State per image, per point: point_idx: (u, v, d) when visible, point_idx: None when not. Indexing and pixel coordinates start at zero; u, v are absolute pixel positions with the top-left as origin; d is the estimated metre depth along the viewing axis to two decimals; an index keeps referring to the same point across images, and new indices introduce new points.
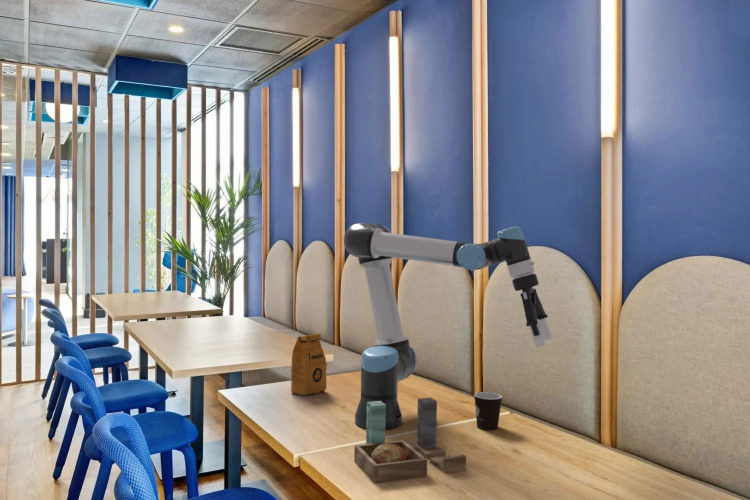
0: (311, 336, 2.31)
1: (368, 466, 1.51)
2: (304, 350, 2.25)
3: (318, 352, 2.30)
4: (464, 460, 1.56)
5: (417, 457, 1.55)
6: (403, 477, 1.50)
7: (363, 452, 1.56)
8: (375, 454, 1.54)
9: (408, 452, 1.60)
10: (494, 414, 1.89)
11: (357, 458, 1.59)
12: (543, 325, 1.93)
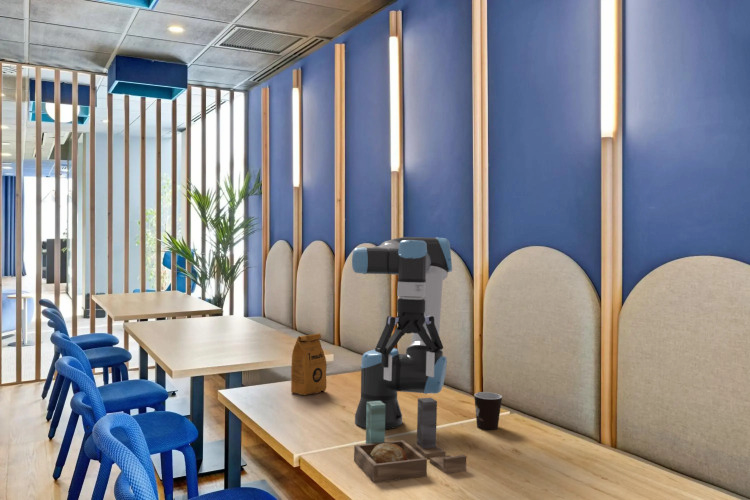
0: (311, 336, 2.31)
1: (368, 465, 1.51)
2: (304, 350, 2.25)
3: (318, 352, 2.30)
4: (464, 460, 1.56)
5: (417, 457, 1.55)
6: (403, 477, 1.50)
7: (363, 452, 1.56)
8: (378, 455, 1.54)
9: (408, 452, 1.61)
10: (494, 414, 1.89)
11: (357, 458, 1.59)
12: (429, 359, 1.66)
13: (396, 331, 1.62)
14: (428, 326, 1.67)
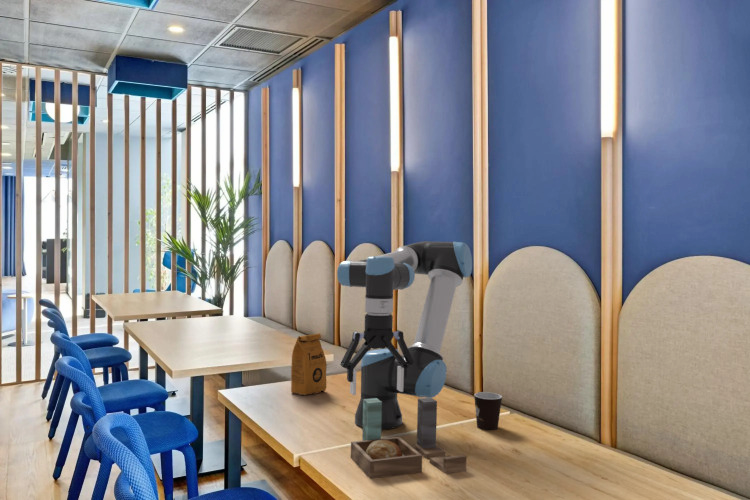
0: (311, 336, 2.31)
1: (364, 461, 1.54)
2: (304, 350, 2.25)
3: (318, 352, 2.30)
4: (464, 460, 1.56)
5: (412, 453, 1.58)
6: (398, 472, 1.53)
7: (359, 448, 1.59)
8: (372, 452, 1.56)
9: (403, 448, 1.63)
10: (494, 414, 1.89)
11: (353, 454, 1.62)
12: (399, 374, 1.67)
13: (363, 346, 1.64)
14: (398, 341, 1.68)
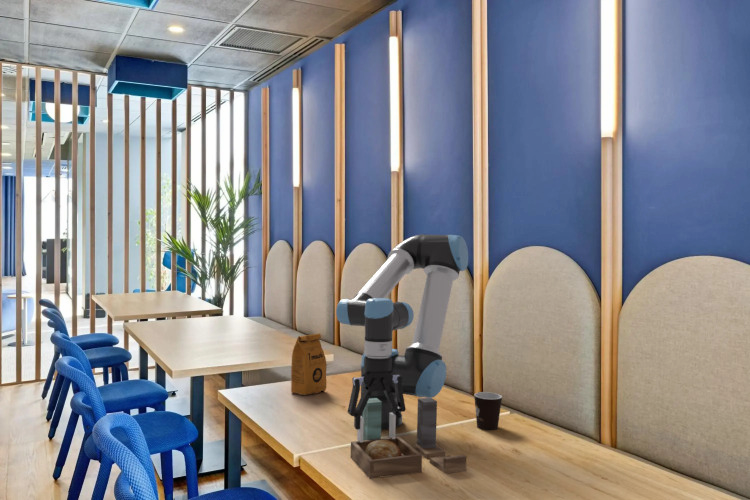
0: (311, 336, 2.31)
1: (364, 461, 1.54)
2: (304, 350, 2.25)
3: (318, 352, 2.30)
4: (464, 460, 1.56)
5: (412, 453, 1.58)
6: (398, 472, 1.53)
7: (359, 448, 1.59)
8: (375, 453, 1.56)
9: (403, 448, 1.63)
10: (494, 414, 1.89)
11: (353, 454, 1.62)
12: (391, 421, 1.67)
13: (364, 391, 1.65)
14: (395, 385, 1.68)
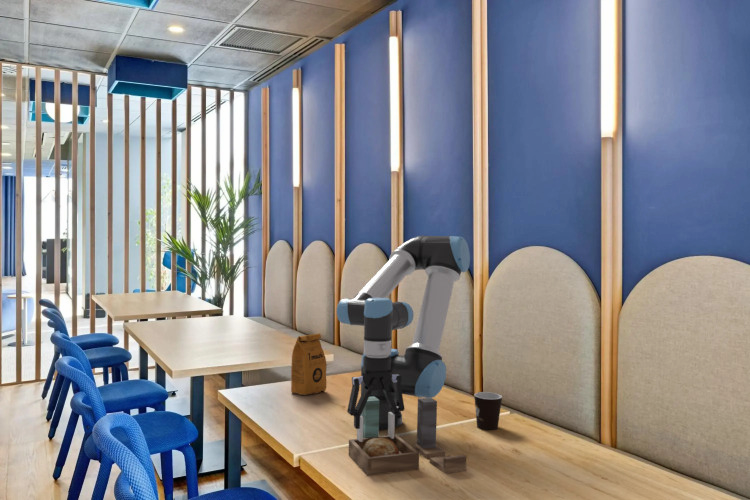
0: (311, 336, 2.31)
1: (362, 459, 1.55)
2: (304, 350, 2.25)
3: (318, 352, 2.30)
4: (464, 460, 1.56)
5: (409, 451, 1.60)
6: (395, 470, 1.54)
7: (357, 446, 1.61)
8: (371, 450, 1.57)
9: (401, 446, 1.65)
10: (494, 414, 1.89)
11: (351, 452, 1.63)
12: (390, 420, 1.67)
13: (364, 390, 1.65)
14: (394, 385, 1.68)
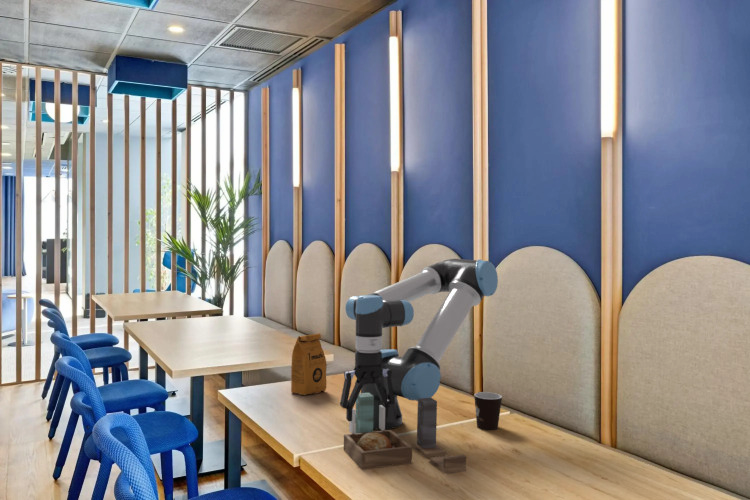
0: (311, 336, 2.31)
1: (356, 453, 1.60)
2: (304, 350, 2.25)
3: (318, 352, 2.30)
4: (464, 460, 1.56)
5: (403, 445, 1.64)
6: (389, 463, 1.59)
7: (352, 440, 1.65)
8: (363, 443, 1.62)
9: (395, 441, 1.69)
10: (494, 414, 1.89)
11: (346, 446, 1.68)
12: (381, 413, 1.74)
13: (356, 384, 1.72)
14: (385, 379, 1.75)
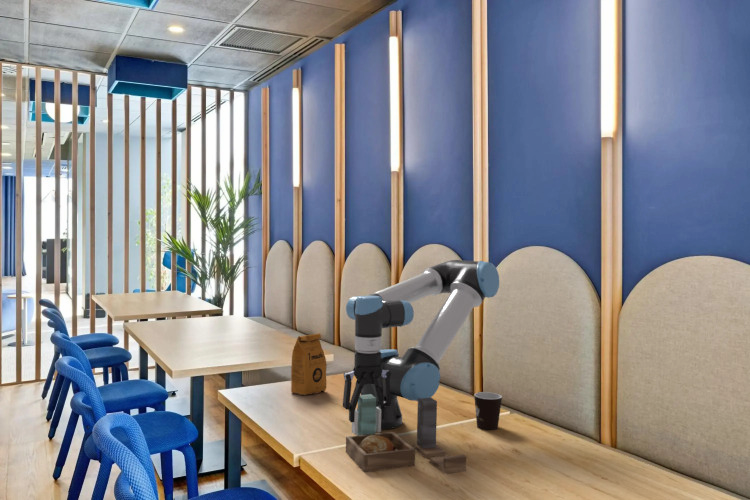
0: (311, 336, 2.31)
1: (359, 455, 1.58)
2: (304, 350, 2.25)
3: (318, 352, 2.30)
4: (464, 460, 1.56)
5: (405, 447, 1.62)
6: (392, 466, 1.57)
7: (354, 443, 1.63)
8: (363, 446, 1.61)
9: (397, 443, 1.67)
10: (494, 414, 1.89)
11: (348, 449, 1.66)
12: (377, 415, 1.74)
13: (356, 385, 1.72)
14: (383, 380, 1.75)
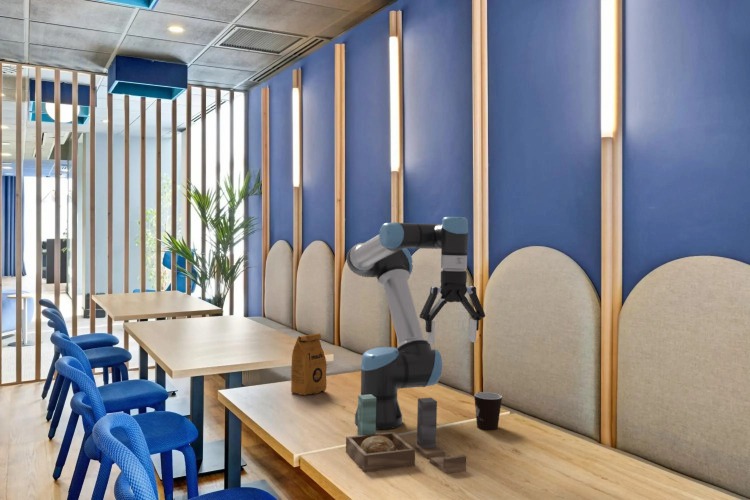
0: (311, 336, 2.31)
1: (359, 455, 1.58)
2: (304, 350, 2.25)
3: (318, 352, 2.30)
4: (464, 460, 1.56)
5: (406, 447, 1.62)
6: (392, 466, 1.57)
7: (354, 443, 1.63)
8: (374, 448, 1.59)
9: (397, 443, 1.67)
10: (494, 414, 1.89)
11: (348, 449, 1.66)
12: (472, 326, 1.81)
13: (439, 300, 1.78)
14: (471, 296, 1.81)
